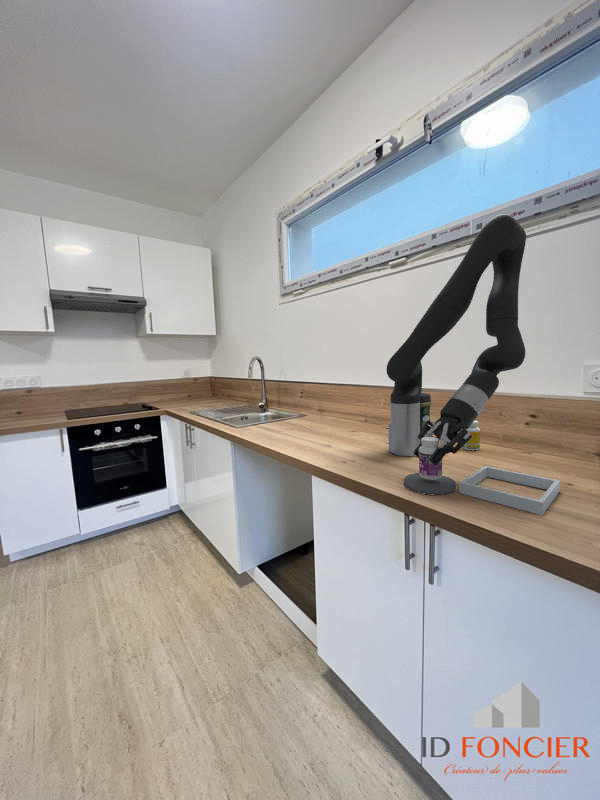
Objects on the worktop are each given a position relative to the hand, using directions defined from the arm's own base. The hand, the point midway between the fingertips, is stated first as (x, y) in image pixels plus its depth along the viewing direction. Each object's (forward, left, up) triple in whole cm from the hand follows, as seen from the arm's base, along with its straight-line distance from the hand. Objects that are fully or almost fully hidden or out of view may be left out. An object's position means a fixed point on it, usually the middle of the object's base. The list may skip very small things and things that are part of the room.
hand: (424, 459), depth 77 cm
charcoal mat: (+1, +2, -7) cm, 7 cm away
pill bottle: (+1, +2, -5) cm, 5 cm away
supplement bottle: (-4, +41, -7) cm, 41 cm away
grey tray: (+16, +10, -7) cm, 20 cm away
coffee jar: (-24, +42, -7) cm, 49 cm away
